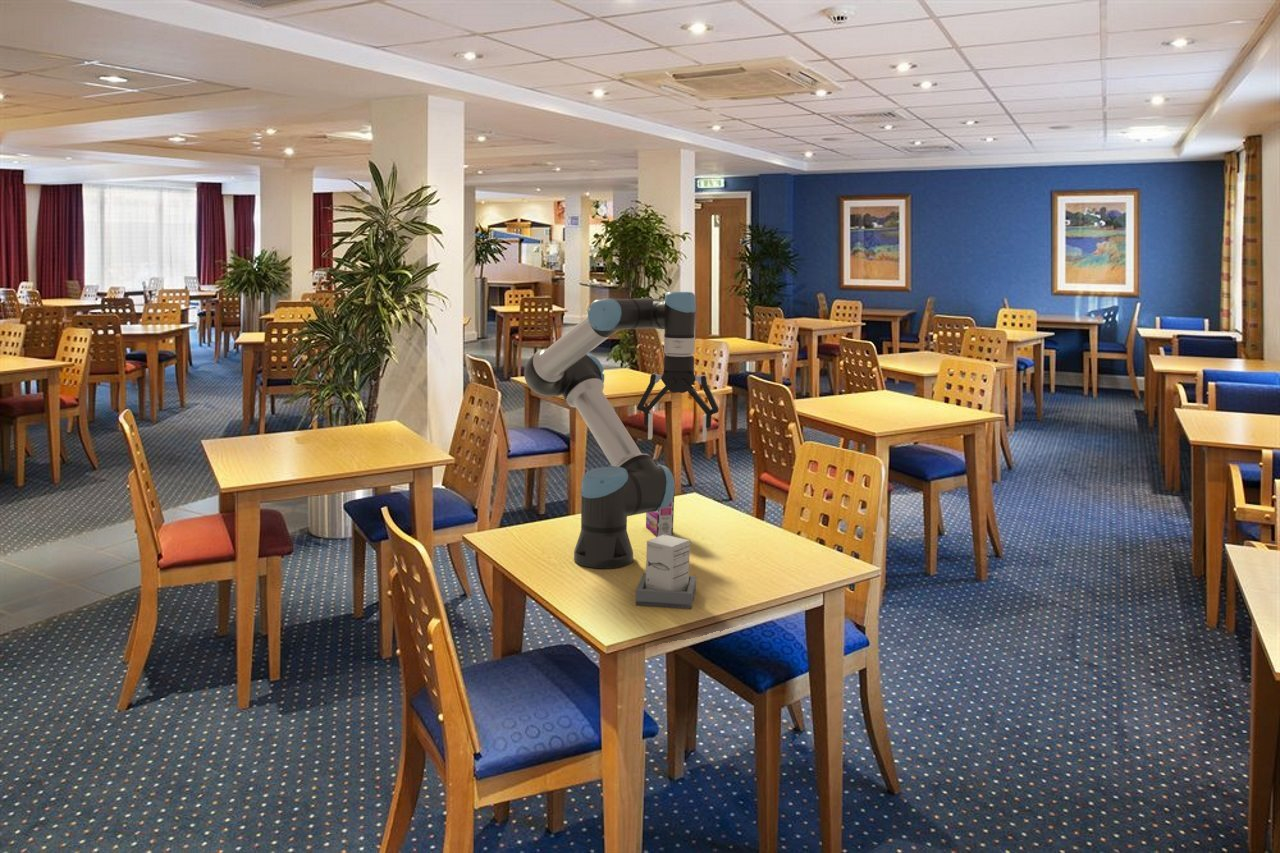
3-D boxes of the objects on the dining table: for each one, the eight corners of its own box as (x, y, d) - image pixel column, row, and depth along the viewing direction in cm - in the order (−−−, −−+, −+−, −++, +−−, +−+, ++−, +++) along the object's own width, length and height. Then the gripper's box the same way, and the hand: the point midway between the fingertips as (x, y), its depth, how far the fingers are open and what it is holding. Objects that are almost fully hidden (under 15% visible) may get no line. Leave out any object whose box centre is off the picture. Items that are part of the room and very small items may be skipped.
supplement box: (644, 594, 213) (645, 540, 211) (663, 585, 219) (664, 533, 217) (670, 601, 209) (672, 546, 206) (689, 592, 214) (691, 539, 212)
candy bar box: (674, 536, 263) (675, 479, 260) (657, 537, 262) (658, 480, 259) (661, 526, 274) (662, 471, 271) (645, 527, 272) (646, 471, 270)
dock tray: (635, 605, 209) (635, 590, 208) (643, 587, 221) (643, 572, 220) (691, 609, 207) (691, 593, 206) (695, 590, 219) (696, 575, 219)
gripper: (626, 354, 230) (625, 440, 233) (729, 357, 226) (726, 444, 229) (631, 352, 237) (630, 435, 240) (730, 355, 233) (728, 439, 237)
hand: (677, 439), depth 235 cm, fingers open, 13 cm apart
